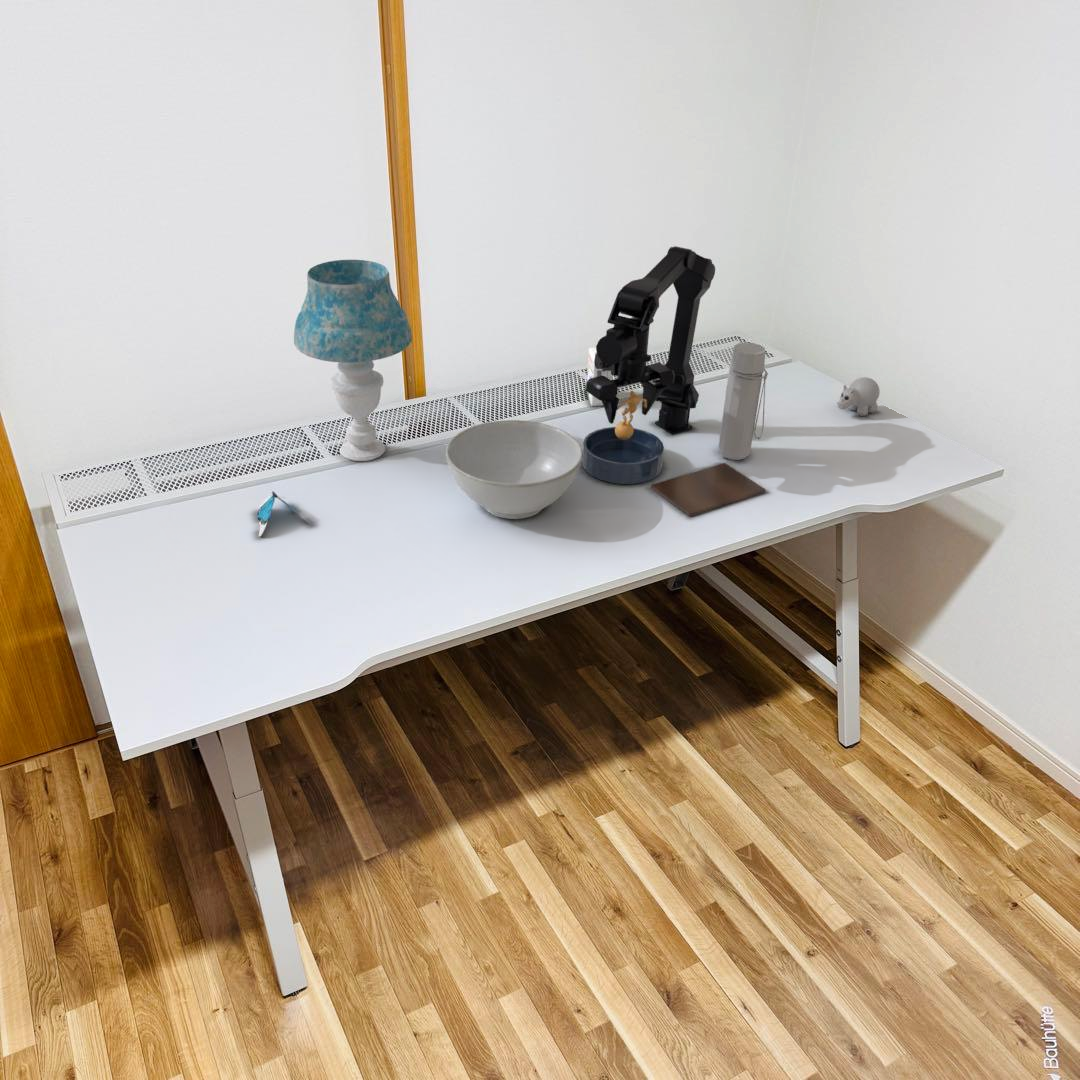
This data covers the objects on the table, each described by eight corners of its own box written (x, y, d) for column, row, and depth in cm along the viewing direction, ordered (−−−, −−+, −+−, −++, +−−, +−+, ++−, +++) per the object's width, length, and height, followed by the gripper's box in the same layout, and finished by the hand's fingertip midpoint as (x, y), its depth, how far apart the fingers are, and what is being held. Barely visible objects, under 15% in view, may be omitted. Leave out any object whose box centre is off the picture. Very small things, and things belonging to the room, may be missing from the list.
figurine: (635, 431, 214) (640, 380, 207) (649, 443, 209) (655, 391, 203) (602, 438, 211) (605, 386, 204) (615, 450, 206) (620, 398, 200)
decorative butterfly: (293, 482, 196) (306, 493, 188) (299, 512, 198) (312, 525, 190) (242, 492, 192) (253, 505, 184) (249, 524, 194) (260, 537, 186)
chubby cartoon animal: (823, 412, 239) (830, 379, 234) (859, 402, 244) (866, 370, 239) (845, 423, 233) (852, 390, 229) (881, 413, 239) (889, 381, 234)
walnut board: (724, 465, 215) (724, 462, 214) (764, 492, 205) (765, 489, 205) (650, 488, 206) (650, 484, 205) (689, 517, 196) (689, 513, 196)
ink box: (585, 391, 245) (588, 335, 237) (605, 391, 246) (609, 334, 238) (590, 406, 238) (594, 348, 230) (611, 406, 238) (615, 348, 230)
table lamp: (405, 421, 229) (395, 249, 207) (428, 470, 210) (420, 286, 188) (300, 434, 222) (279, 258, 200) (315, 485, 203) (293, 296, 181)
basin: (630, 440, 224) (632, 420, 221) (677, 473, 211) (680, 452, 209) (567, 457, 216) (568, 437, 213) (611, 492, 204) (613, 471, 201)
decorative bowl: (516, 458, 215) (517, 408, 208) (607, 505, 199) (611, 452, 193) (420, 500, 199) (417, 447, 192) (510, 555, 183) (511, 499, 177)
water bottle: (713, 458, 217) (727, 351, 204) (721, 443, 223) (736, 338, 210) (754, 466, 215) (772, 359, 201) (761, 451, 221) (779, 345, 207)
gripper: (647, 327, 209) (641, 395, 217) (572, 343, 200) (569, 413, 209) (679, 345, 201) (671, 415, 209) (603, 362, 192) (599, 434, 201)
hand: (627, 418), depth 207 cm, fingers closed on figurine, 8 cm apart
